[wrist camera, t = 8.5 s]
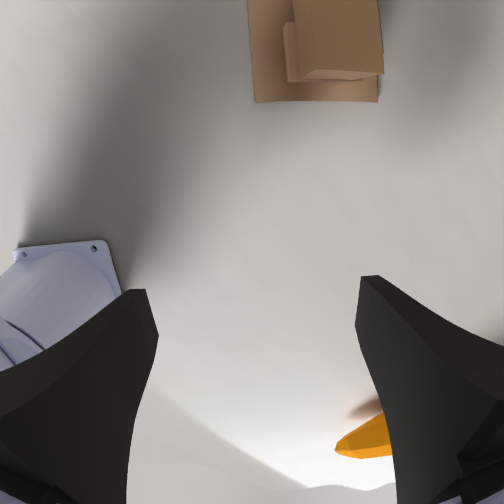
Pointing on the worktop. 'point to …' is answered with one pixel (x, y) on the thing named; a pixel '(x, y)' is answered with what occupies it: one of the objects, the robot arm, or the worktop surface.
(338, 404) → the worktop surface
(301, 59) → the long wooden plank
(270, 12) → the display stand
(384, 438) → the corn
